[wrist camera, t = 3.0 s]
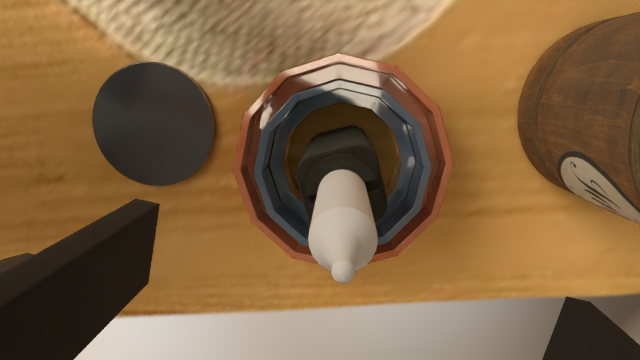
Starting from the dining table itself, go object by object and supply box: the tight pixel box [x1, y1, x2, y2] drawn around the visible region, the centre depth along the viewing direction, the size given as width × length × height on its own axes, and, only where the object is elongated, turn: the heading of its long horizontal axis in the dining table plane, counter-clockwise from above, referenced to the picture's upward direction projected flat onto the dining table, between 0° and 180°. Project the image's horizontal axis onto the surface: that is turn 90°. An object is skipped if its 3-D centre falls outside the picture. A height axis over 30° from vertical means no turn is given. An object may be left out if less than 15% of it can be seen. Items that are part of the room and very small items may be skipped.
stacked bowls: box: [233, 53, 453, 264], centre depth 36 cm, size 17×17×6 cm
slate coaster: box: [92, 62, 216, 186], centre depth 39 cm, size 11×11×1 cm
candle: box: [296, 125, 388, 284], centre depth 27 cm, size 5×5×25 cm
